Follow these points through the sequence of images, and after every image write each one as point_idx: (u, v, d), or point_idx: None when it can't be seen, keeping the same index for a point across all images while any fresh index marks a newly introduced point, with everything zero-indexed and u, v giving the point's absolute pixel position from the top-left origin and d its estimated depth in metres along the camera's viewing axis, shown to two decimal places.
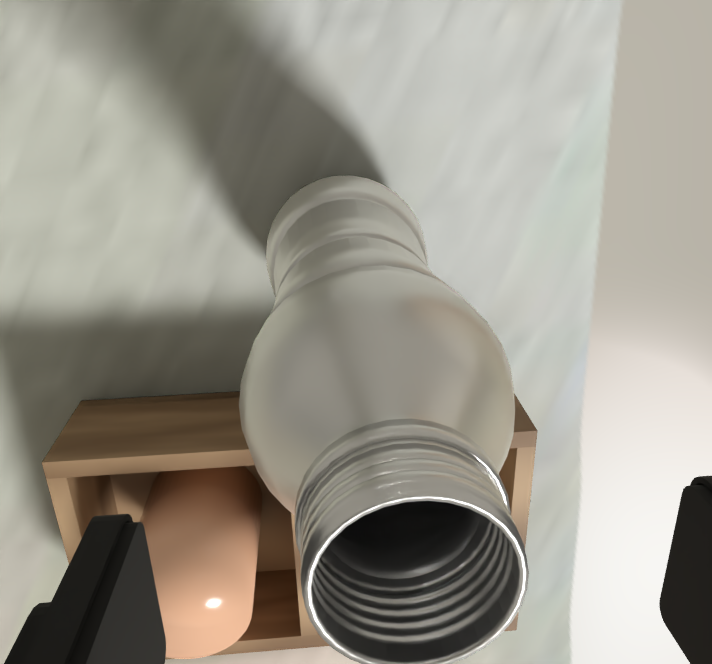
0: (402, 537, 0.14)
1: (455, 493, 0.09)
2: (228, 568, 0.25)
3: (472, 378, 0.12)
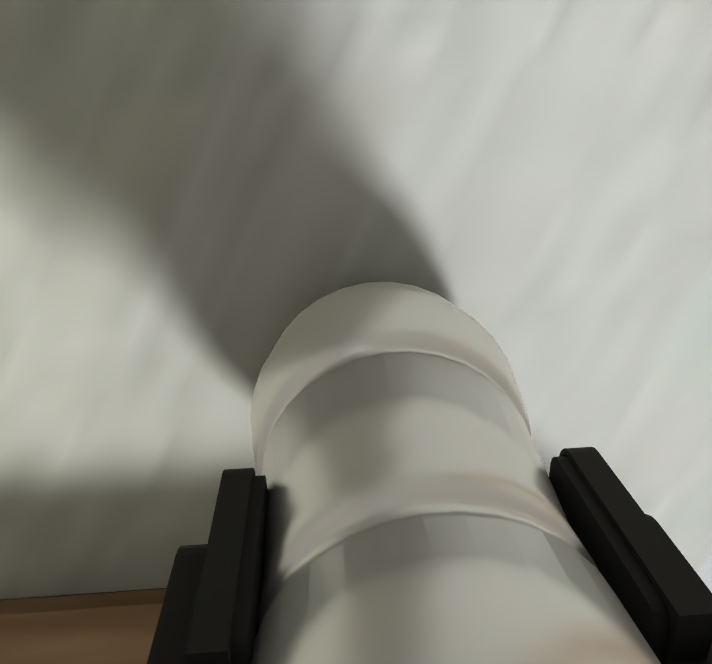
0: None
1: None
2: None
3: None
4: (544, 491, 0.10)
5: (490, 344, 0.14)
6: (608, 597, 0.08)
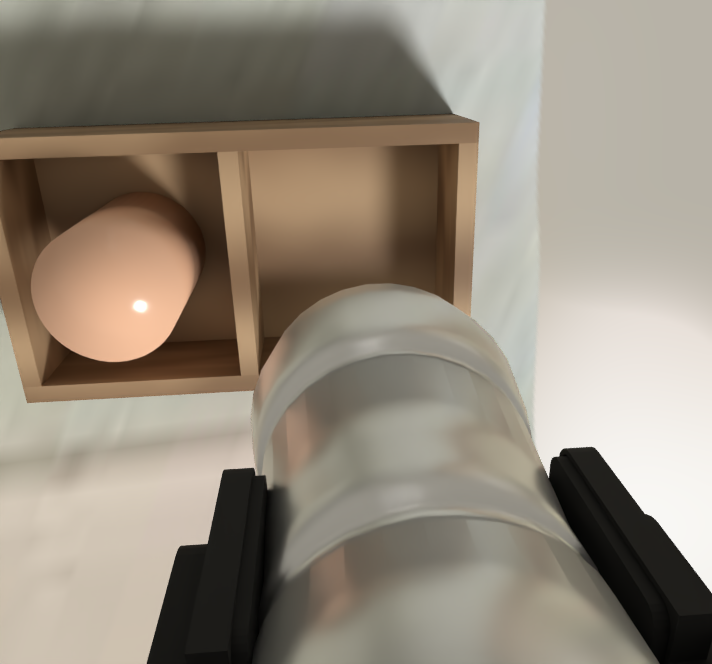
0: None
1: None
2: (152, 245, 0.24)
3: None
4: (545, 494, 0.10)
5: (490, 346, 0.14)
6: (609, 601, 0.08)
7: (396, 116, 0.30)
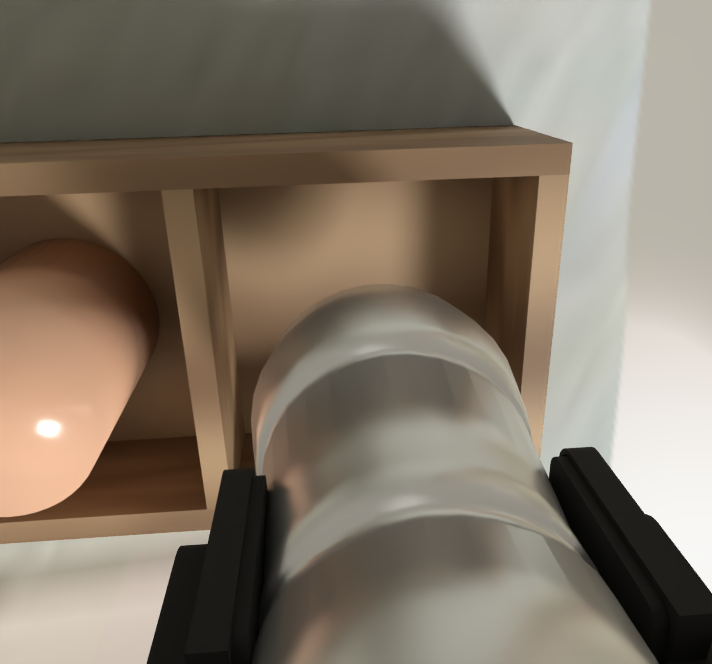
0: None
1: None
2: (51, 345, 0.15)
3: None
4: (545, 495, 0.10)
5: (491, 346, 0.14)
6: (609, 602, 0.08)
7: (433, 129, 0.20)
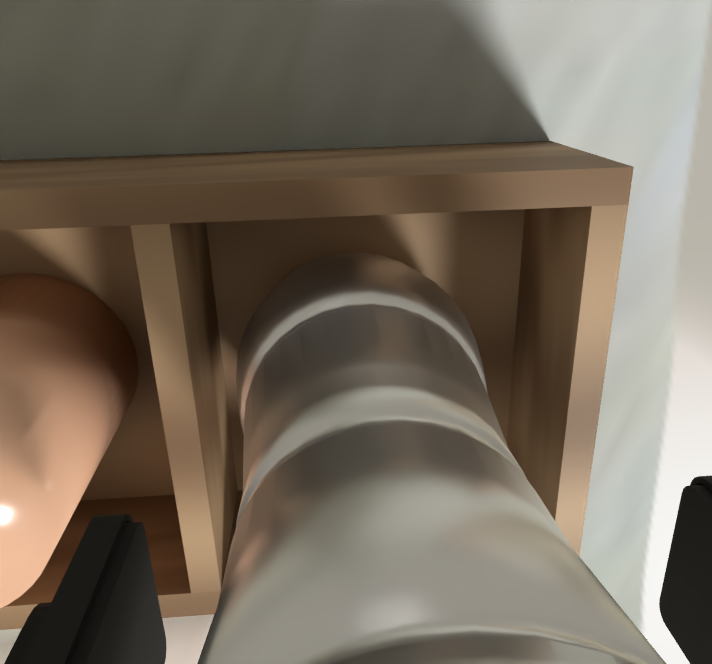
0: None
1: None
2: None
3: None
4: (482, 415, 0.11)
5: (448, 303, 0.15)
6: (522, 485, 0.09)
7: (456, 146, 0.17)
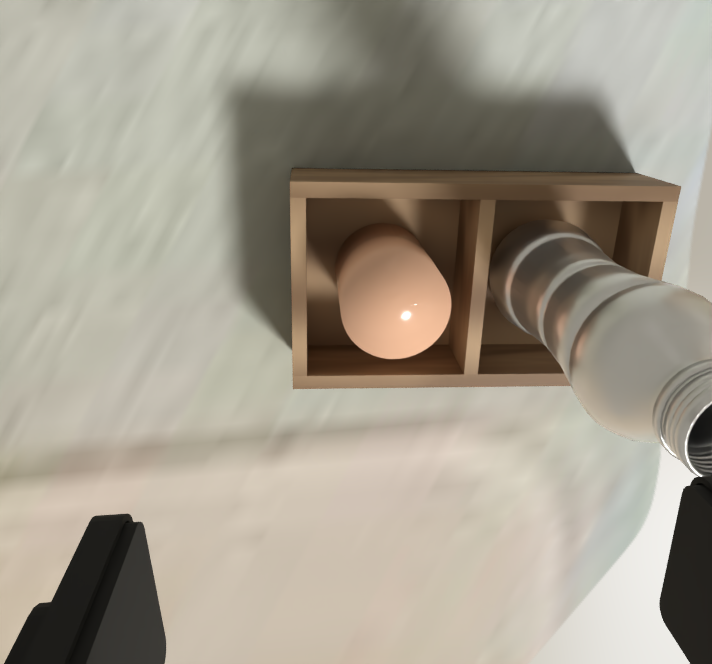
0: None
1: None
2: (438, 270, 0.32)
3: None
4: None
5: None
6: None
7: (593, 173, 0.37)
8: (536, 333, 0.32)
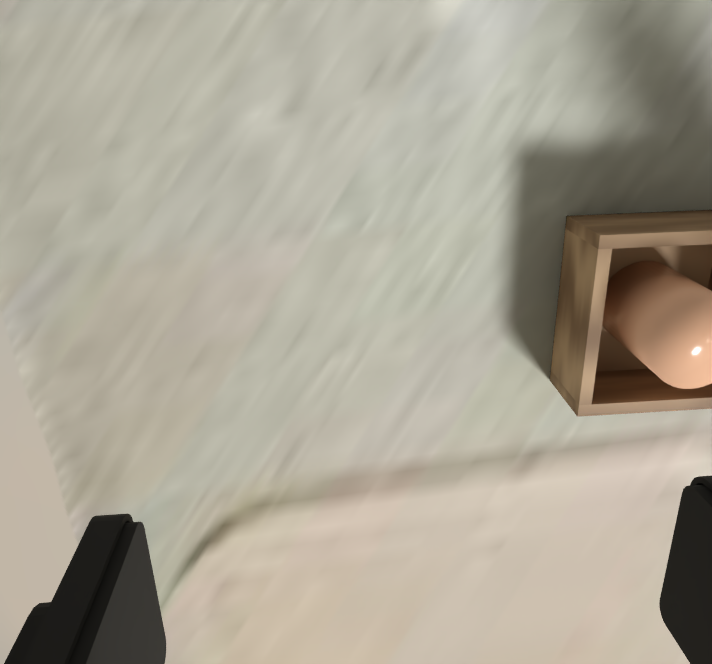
0: None
1: None
2: None
3: None
4: None
5: None
6: None
7: None
8: None
